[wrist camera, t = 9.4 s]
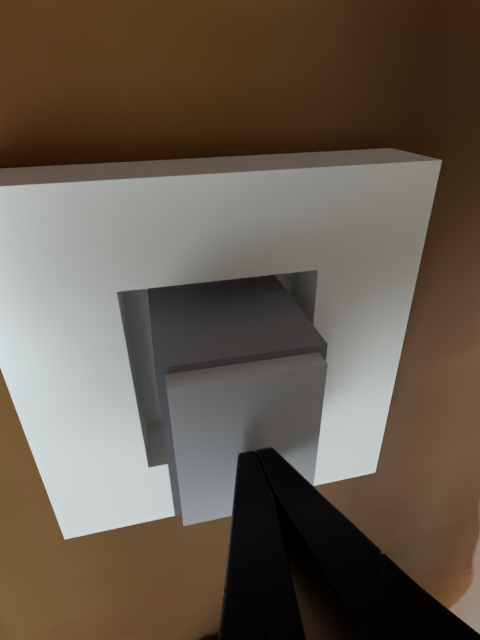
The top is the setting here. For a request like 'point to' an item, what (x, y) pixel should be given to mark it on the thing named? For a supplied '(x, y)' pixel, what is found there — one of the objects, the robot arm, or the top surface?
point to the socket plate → (188, 268)
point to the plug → (233, 385)
